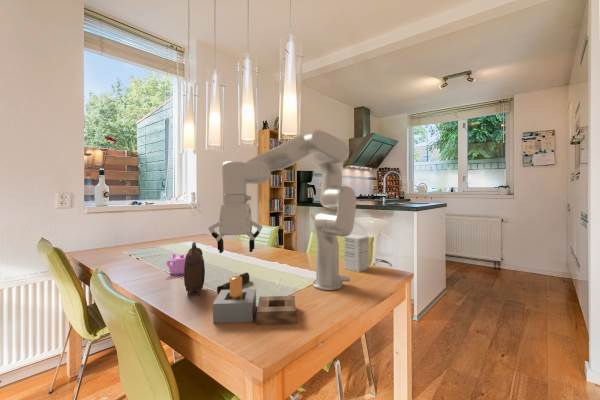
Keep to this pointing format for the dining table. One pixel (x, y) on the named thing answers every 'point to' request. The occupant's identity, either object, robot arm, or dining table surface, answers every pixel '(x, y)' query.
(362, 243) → the supplement box
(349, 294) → the dining table surface
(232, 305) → the socket block
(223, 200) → the robot arm
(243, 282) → the hand tool
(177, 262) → the teapot
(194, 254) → the alarm clock
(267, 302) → the mount block
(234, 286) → the pin
